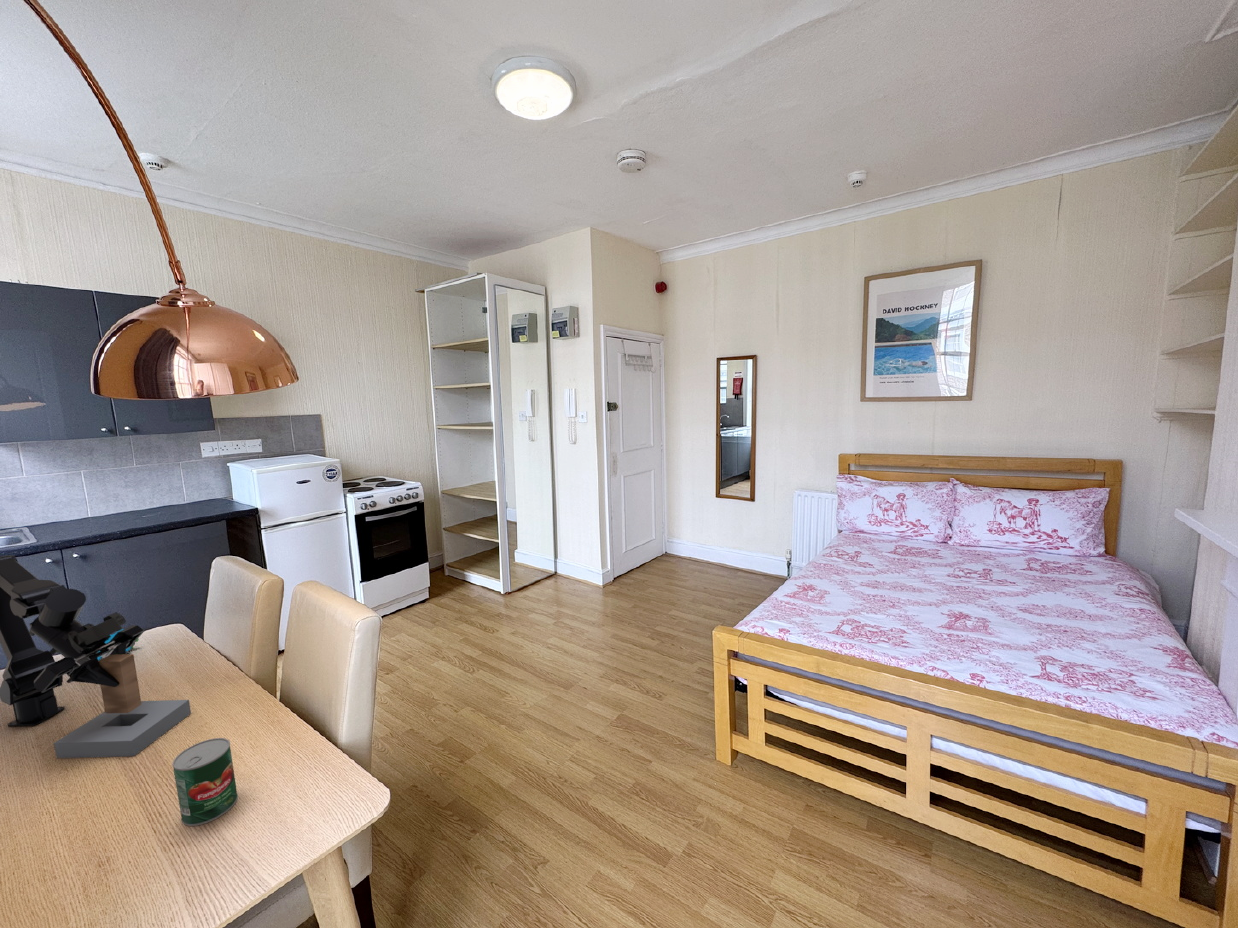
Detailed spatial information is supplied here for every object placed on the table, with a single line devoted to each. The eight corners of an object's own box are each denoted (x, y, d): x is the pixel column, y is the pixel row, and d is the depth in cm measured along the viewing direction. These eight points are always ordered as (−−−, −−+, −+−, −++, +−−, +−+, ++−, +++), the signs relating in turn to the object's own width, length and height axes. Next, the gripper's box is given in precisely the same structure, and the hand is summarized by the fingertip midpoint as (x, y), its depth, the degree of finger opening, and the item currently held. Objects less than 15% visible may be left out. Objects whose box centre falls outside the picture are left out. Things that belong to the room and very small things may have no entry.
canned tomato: (208, 790, 93) (199, 737, 92) (248, 790, 93) (241, 737, 92) (168, 826, 86) (159, 769, 84) (213, 826, 85) (204, 769, 84)
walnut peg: (105, 713, 108) (96, 661, 106) (118, 704, 111) (110, 654, 109) (128, 712, 108) (120, 661, 106) (141, 704, 111) (133, 654, 109)
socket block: (56, 758, 103) (53, 742, 102) (122, 715, 117) (120, 701, 116) (134, 756, 103) (131, 740, 103) (191, 713, 117) (188, 699, 116)
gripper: (37, 629, 97) (103, 680, 98) (130, 591, 115) (184, 635, 117) (4, 667, 98) (70, 717, 99) (101, 624, 116) (155, 667, 118)
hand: (125, 680), depth 108 cm, fingers closed on walnut peg, 3 cm apart
